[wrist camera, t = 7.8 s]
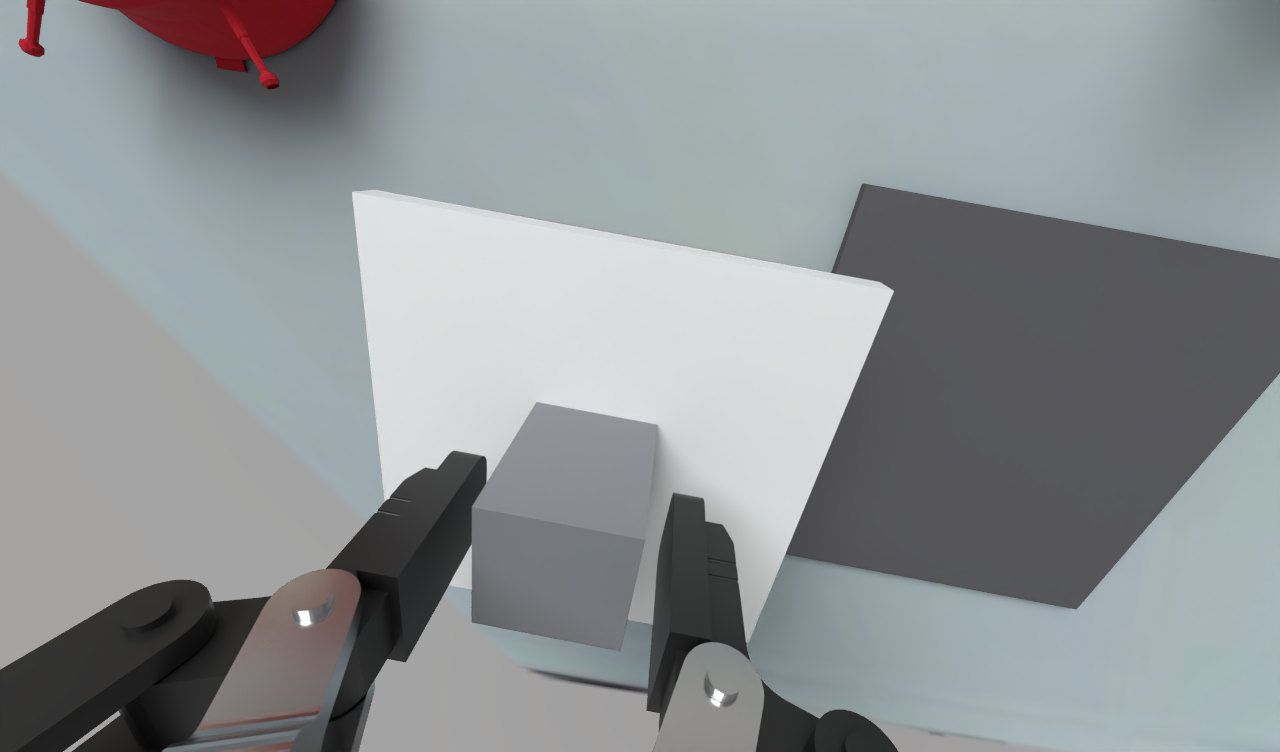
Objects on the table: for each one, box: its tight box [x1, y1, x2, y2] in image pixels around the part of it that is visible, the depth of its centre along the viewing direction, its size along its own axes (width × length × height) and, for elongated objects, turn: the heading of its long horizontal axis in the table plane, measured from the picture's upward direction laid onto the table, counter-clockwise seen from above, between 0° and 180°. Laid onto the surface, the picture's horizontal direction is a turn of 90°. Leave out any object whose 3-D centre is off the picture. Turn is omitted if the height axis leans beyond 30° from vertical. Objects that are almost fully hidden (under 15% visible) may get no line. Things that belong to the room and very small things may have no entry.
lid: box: [352, 190, 894, 651], centre depth 11 cm, size 12×12×5 cm
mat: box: [786, 184, 1280, 609], centre depth 18 cm, size 16×16×1 cm
